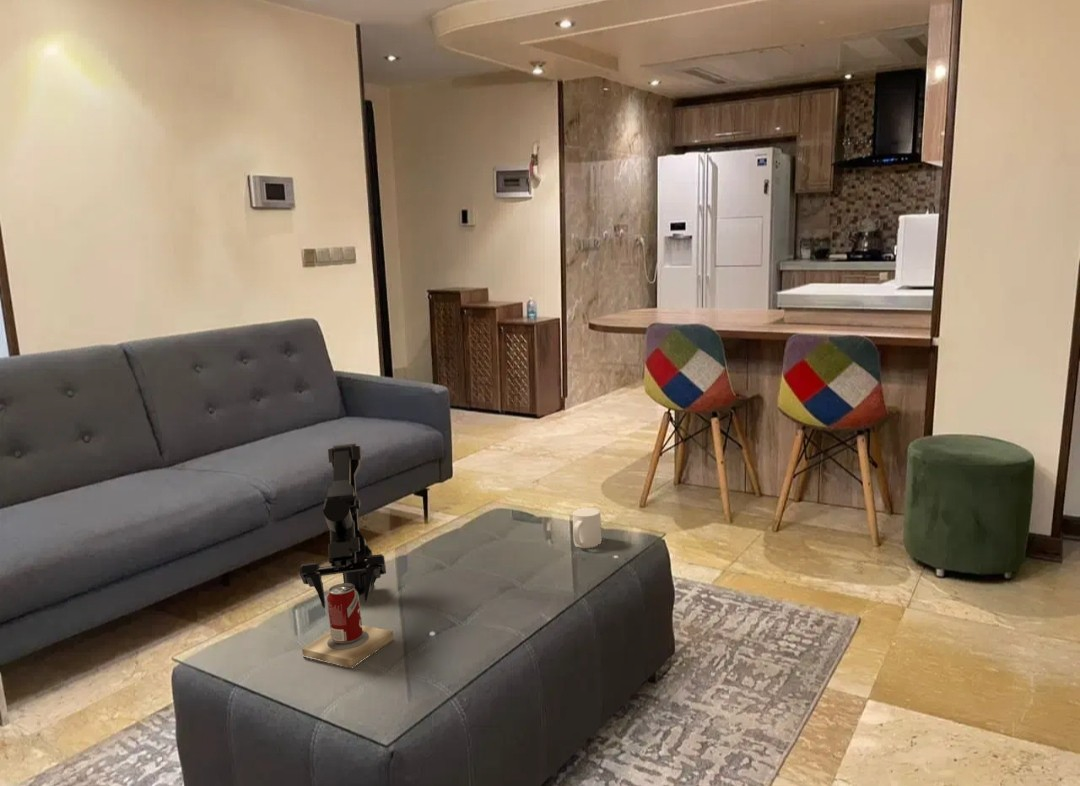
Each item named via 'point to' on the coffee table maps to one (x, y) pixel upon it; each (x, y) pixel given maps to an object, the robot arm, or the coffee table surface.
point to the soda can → (344, 613)
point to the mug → (586, 527)
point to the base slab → (349, 647)
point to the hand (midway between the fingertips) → (344, 604)
